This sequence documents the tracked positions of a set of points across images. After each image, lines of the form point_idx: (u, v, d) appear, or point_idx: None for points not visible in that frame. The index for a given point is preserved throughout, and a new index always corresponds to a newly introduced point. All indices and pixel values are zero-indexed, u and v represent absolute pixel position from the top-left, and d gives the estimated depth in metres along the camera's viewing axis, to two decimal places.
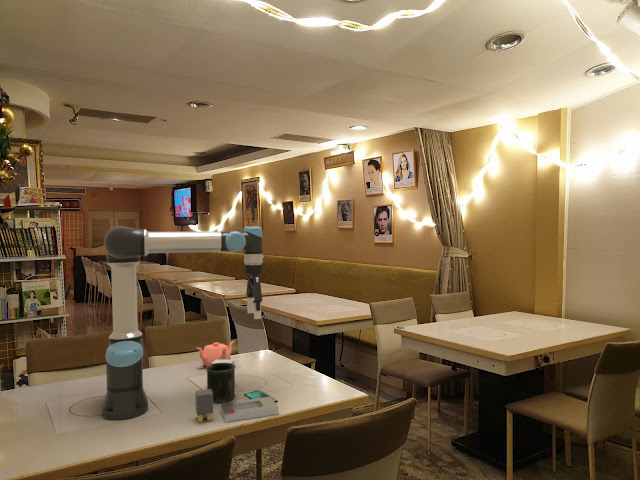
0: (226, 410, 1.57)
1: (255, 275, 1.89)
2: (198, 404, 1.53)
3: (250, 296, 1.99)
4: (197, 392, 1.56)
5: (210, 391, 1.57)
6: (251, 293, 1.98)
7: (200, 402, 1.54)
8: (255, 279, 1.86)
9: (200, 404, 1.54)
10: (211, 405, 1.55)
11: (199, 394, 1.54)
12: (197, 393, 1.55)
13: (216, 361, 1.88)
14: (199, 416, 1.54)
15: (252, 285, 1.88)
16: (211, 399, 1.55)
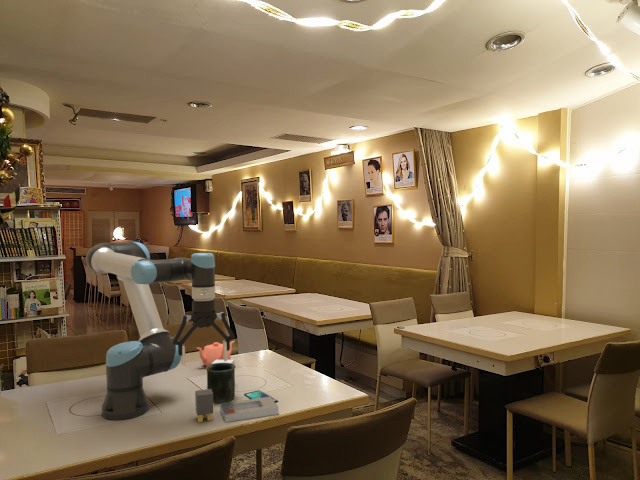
0: (226, 410, 1.57)
1: (192, 312, 1.55)
2: (198, 404, 1.53)
3: None
4: (197, 392, 1.56)
5: (210, 391, 1.57)
6: None
7: (200, 402, 1.54)
8: (182, 317, 1.55)
9: (200, 404, 1.54)
10: (211, 405, 1.55)
11: (199, 394, 1.54)
12: (197, 393, 1.55)
13: (216, 361, 1.88)
14: (199, 416, 1.54)
15: (192, 324, 1.56)
16: (211, 399, 1.55)
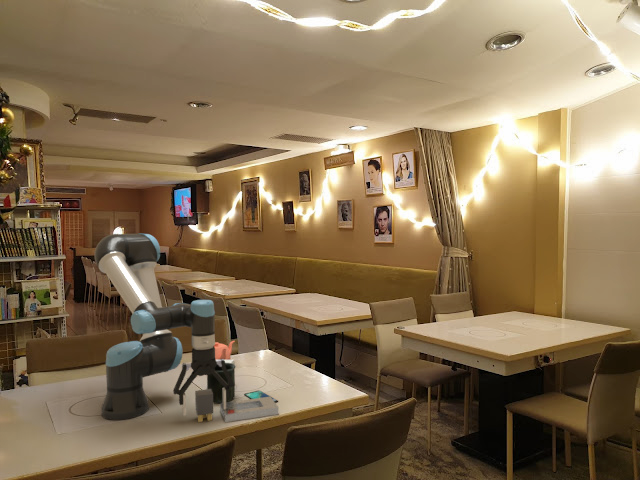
0: (226, 410, 1.57)
1: None
2: (198, 404, 1.53)
3: (225, 387, 1.59)
4: (197, 392, 1.56)
5: (210, 391, 1.57)
6: (221, 383, 1.58)
7: (200, 402, 1.54)
8: (182, 365, 1.55)
9: (200, 404, 1.54)
10: (211, 405, 1.55)
11: (199, 394, 1.54)
12: (197, 393, 1.55)
13: None
14: (199, 416, 1.54)
15: (192, 372, 1.56)
16: (211, 399, 1.55)
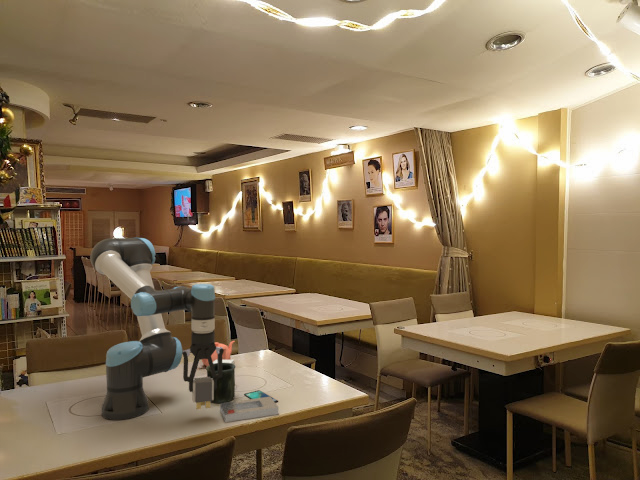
0: (226, 410, 1.57)
1: None
2: (197, 391, 1.54)
3: (213, 377, 1.58)
4: (196, 379, 1.56)
5: (209, 379, 1.57)
6: (211, 372, 1.57)
7: (198, 389, 1.54)
8: (182, 353, 1.55)
9: (198, 391, 1.54)
10: (210, 393, 1.55)
11: (198, 381, 1.55)
12: (196, 380, 1.56)
13: (216, 361, 1.88)
14: (197, 403, 1.55)
15: (194, 357, 1.57)
16: (210, 387, 1.55)
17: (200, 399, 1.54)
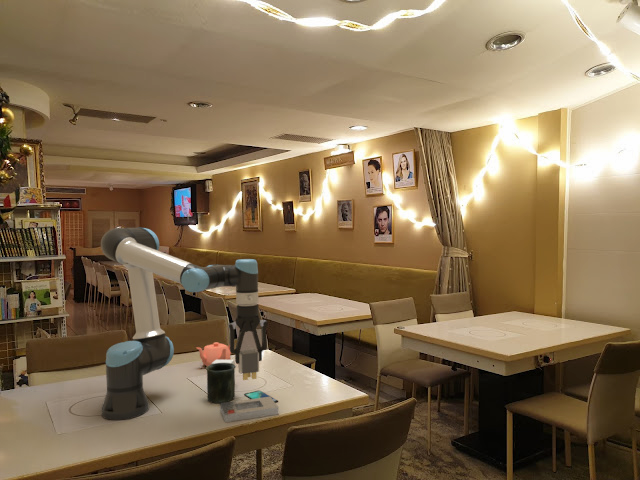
0: (226, 410, 1.57)
1: None
2: (243, 362, 1.58)
3: (257, 350, 1.63)
4: (242, 352, 1.61)
5: (254, 351, 1.62)
6: (256, 344, 1.62)
7: (245, 360, 1.58)
8: (228, 326, 1.60)
9: (245, 362, 1.58)
10: (256, 364, 1.60)
11: (244, 353, 1.59)
12: (242, 352, 1.60)
13: (216, 361, 1.88)
14: (244, 374, 1.59)
15: None
16: (256, 358, 1.60)
17: (247, 370, 1.59)
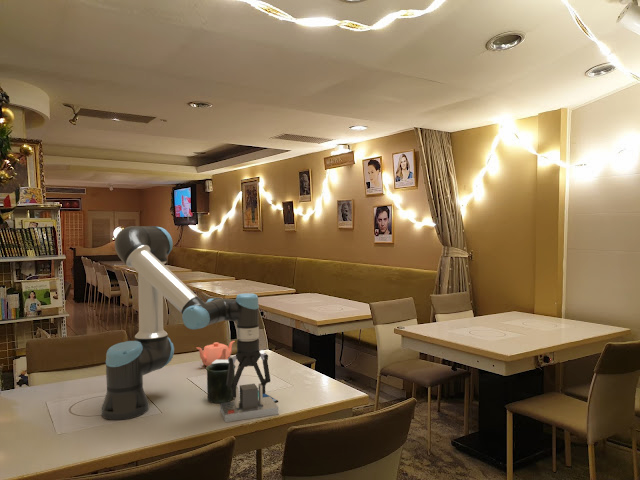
0: (226, 410, 1.57)
1: None
2: (244, 398, 1.58)
3: (261, 382, 1.63)
4: (242, 387, 1.61)
5: (254, 386, 1.62)
6: (259, 377, 1.63)
7: (245, 396, 1.59)
8: (228, 360, 1.60)
9: (245, 398, 1.59)
10: (256, 399, 1.60)
11: (244, 388, 1.59)
12: (242, 387, 1.60)
13: (216, 361, 1.88)
14: None
15: (239, 364, 1.62)
16: (256, 393, 1.60)
17: (247, 405, 1.59)
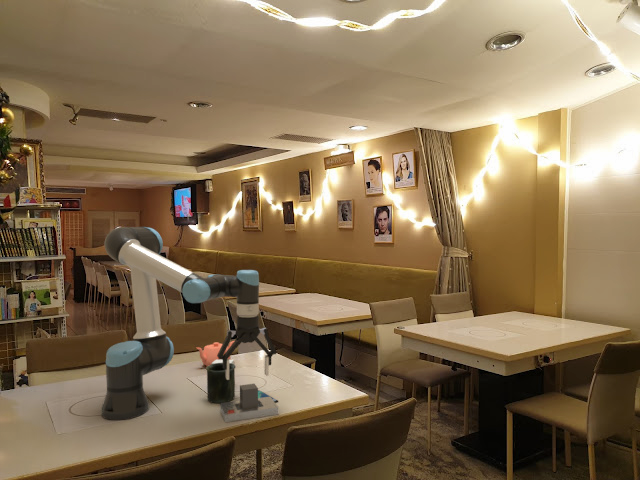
0: (226, 410, 1.57)
1: (236, 328, 1.60)
2: (244, 398, 1.58)
3: None
4: (242, 387, 1.61)
5: (254, 386, 1.62)
6: (264, 350, 1.64)
7: (245, 396, 1.59)
8: (227, 332, 1.60)
9: (245, 398, 1.59)
10: (256, 399, 1.60)
11: (244, 388, 1.59)
12: (242, 387, 1.60)
13: (216, 361, 1.88)
14: None
15: (236, 339, 1.61)
16: (256, 393, 1.60)
17: (247, 405, 1.59)
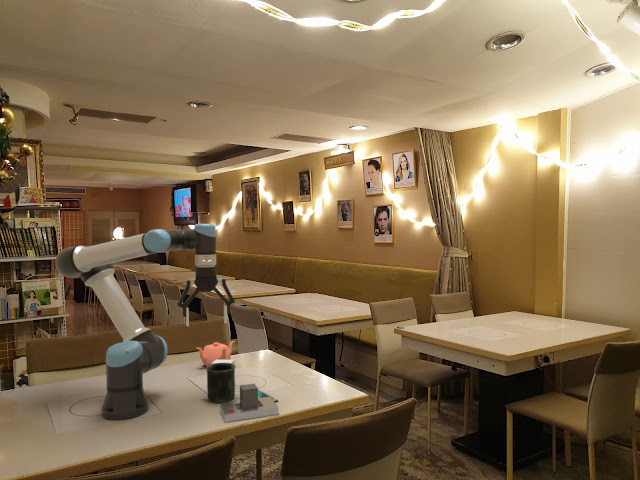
0: (226, 410, 1.57)
1: (195, 278, 1.70)
2: (244, 398, 1.58)
3: (226, 303, 1.74)
4: (242, 387, 1.61)
5: (254, 386, 1.62)
6: None
7: (245, 396, 1.59)
8: (186, 282, 1.69)
9: (245, 398, 1.59)
10: (256, 399, 1.60)
11: (244, 388, 1.59)
12: (242, 387, 1.60)
13: (216, 361, 1.88)
14: None
15: (195, 289, 1.71)
16: (256, 393, 1.60)
17: (247, 405, 1.59)
